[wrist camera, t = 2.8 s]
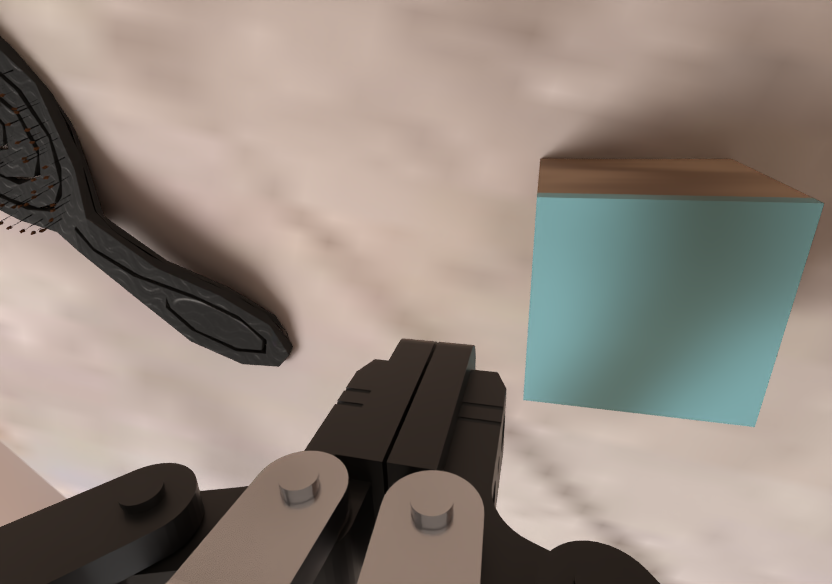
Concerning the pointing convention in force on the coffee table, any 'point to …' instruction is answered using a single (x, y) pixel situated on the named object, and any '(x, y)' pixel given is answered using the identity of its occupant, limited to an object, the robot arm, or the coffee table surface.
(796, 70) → the coffee table surface
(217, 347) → the hairbrush
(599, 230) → the two tone block
